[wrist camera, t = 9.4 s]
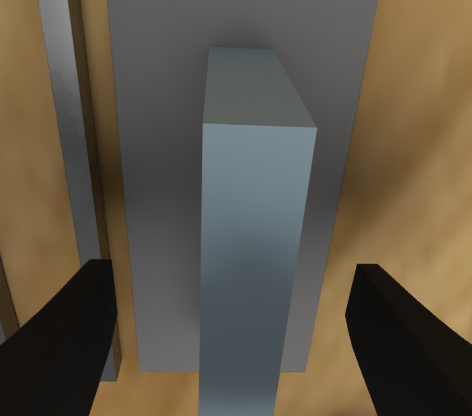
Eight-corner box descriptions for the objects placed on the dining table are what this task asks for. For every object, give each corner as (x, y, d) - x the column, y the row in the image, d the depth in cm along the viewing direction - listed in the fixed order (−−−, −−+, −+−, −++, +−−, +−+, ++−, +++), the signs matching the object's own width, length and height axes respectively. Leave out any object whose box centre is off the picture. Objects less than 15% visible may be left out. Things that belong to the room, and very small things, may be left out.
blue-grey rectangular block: (203, 326, 20) (197, 493, 14) (209, 46, 14) (202, 123, 8) (247, 327, 20) (261, 492, 14) (273, 49, 14) (316, 127, 8)
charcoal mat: (140, 364, 21) (139, 371, 21) (103, -74, 12) (100, -76, 12) (303, 365, 22) (304, 372, 21) (384, -57, 13) (388, -57, 12)
